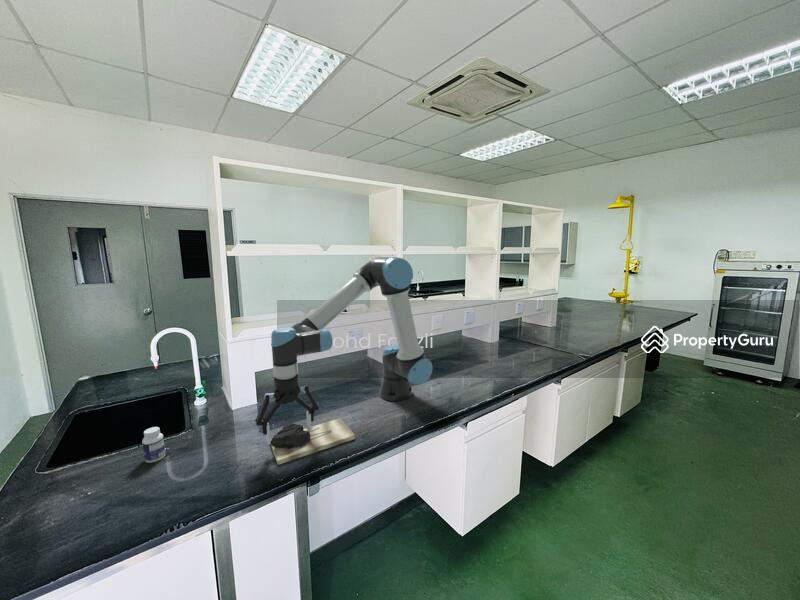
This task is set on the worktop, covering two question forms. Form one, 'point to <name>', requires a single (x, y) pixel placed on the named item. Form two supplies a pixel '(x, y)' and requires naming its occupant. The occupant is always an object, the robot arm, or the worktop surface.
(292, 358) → the robot arm
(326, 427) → the board
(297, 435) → the rock
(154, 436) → the pill bottle
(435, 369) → the worktop surface
